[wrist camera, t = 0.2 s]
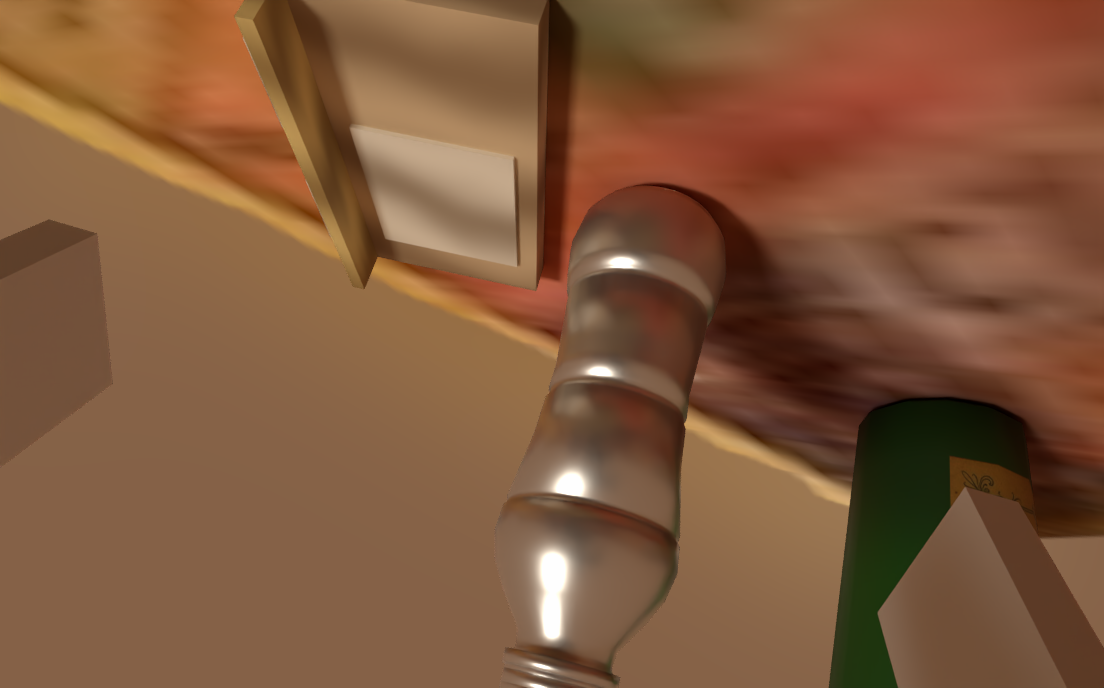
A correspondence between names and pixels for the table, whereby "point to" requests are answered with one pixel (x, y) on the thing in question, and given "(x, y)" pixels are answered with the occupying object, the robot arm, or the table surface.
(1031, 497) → the bottle
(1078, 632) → the robot arm
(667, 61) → the table surface
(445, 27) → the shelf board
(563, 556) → the plastic bottle
